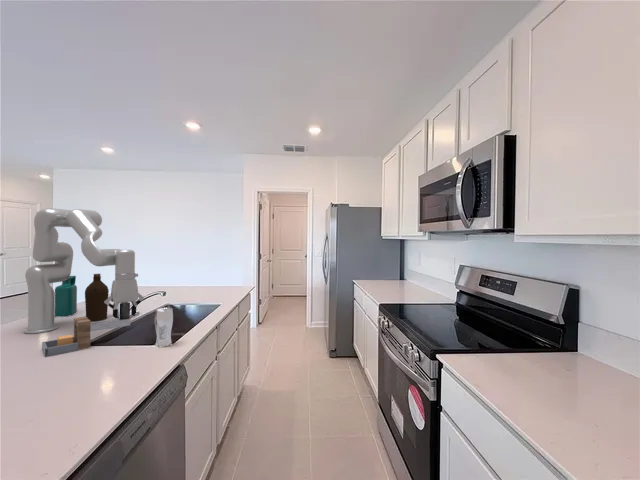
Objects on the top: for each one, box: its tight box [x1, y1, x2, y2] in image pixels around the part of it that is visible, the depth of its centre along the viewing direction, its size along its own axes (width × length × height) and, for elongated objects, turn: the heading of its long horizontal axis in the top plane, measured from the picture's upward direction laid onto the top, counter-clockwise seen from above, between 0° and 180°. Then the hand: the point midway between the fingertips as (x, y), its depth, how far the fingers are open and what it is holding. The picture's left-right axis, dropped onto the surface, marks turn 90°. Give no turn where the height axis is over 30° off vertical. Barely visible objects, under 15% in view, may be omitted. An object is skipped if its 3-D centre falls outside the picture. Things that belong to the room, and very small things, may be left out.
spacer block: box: [56, 334, 74, 346], centre depth 124 cm, size 4×4×4 cm
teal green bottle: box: [54, 275, 78, 317], centre depth 178 cm, size 10×8×22 cm
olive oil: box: [84, 273, 110, 322], centre depth 169 cm, size 11×11×25 cm
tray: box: [41, 336, 79, 358], centre depth 123 cm, size 11×10×3 cm
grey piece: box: [90, 302, 132, 333], centre depth 134 cm, size 4×19×10 cm, turn 137°
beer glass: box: [154, 307, 174, 347], centre depth 131 cm, size 7×7×15 cm
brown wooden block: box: [73, 315, 92, 351], centre depth 128 cm, size 10×4×11 cm, turn 47°
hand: (124, 316), depth 140 cm, fingers open, 6 cm apart
